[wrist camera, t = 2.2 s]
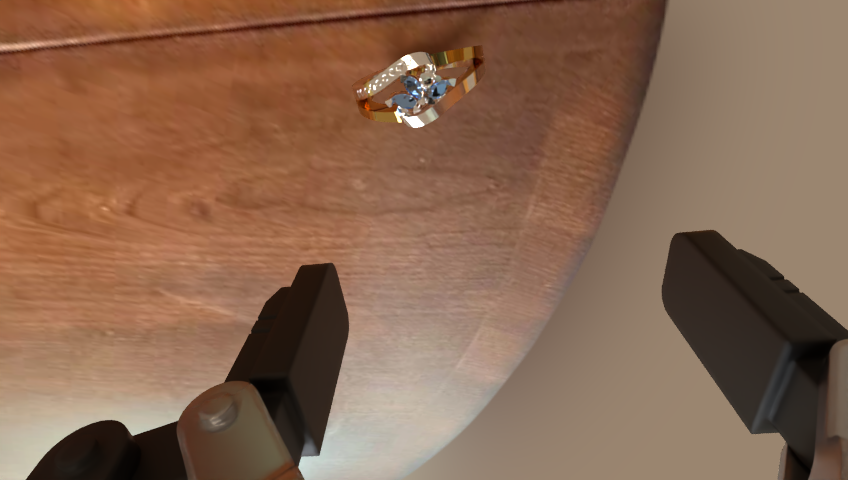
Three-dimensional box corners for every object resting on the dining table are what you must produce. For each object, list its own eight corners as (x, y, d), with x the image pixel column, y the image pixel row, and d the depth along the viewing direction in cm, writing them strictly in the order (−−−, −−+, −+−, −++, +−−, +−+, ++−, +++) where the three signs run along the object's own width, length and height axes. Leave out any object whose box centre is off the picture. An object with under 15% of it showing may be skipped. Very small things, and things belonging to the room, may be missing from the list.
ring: (474, 21, 25) (489, 38, 18) (482, 79, 26) (498, 115, 20) (356, 49, 26) (328, 74, 19) (371, 103, 27) (349, 145, 20)
